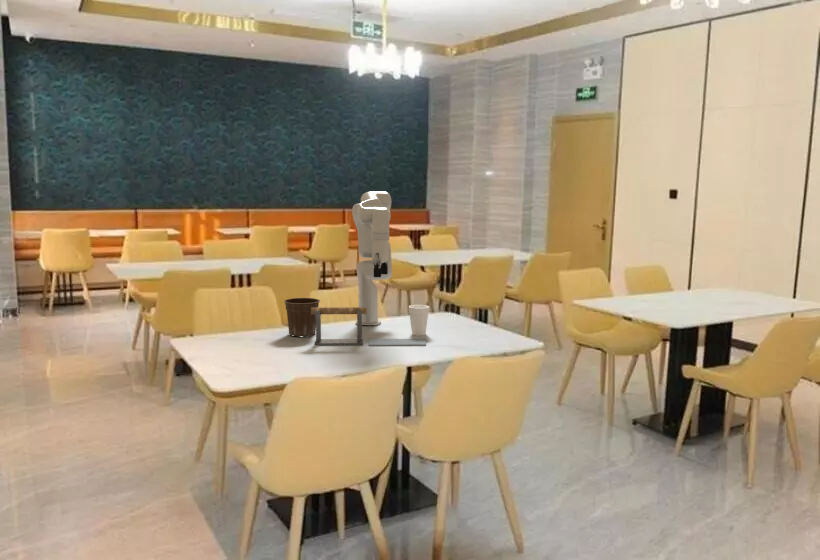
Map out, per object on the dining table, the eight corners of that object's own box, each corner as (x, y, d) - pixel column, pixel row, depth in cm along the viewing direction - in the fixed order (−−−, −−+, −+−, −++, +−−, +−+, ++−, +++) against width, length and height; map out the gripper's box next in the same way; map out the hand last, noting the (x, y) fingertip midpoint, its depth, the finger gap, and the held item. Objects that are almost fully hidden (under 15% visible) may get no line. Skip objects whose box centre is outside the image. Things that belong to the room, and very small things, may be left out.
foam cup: (428, 336, 329) (428, 308, 327) (408, 336, 329) (408, 308, 327) (428, 331, 338) (428, 304, 336) (409, 331, 339) (409, 304, 337)
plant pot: (311, 329, 343) (310, 296, 340) (326, 335, 329) (325, 301, 327) (279, 333, 334) (278, 299, 332) (293, 340, 321) (292, 304, 318)
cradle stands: (316, 341, 318) (315, 308, 316) (363, 341, 319) (363, 308, 317) (314, 345, 310) (313, 311, 308) (362, 345, 311) (362, 311, 309)
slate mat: (369, 340, 320) (369, 338, 320) (424, 339, 321) (424, 338, 321) (368, 346, 310) (368, 344, 310) (426, 345, 311) (426, 344, 310)
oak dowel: (311, 315, 311) (310, 308, 310) (311, 313, 314) (311, 306, 313) (366, 314, 312) (366, 308, 311) (366, 313, 315) (366, 306, 314)
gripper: (378, 235, 321) (378, 272, 323) (366, 238, 304) (366, 278, 307) (394, 235, 319) (394, 273, 321) (383, 238, 303) (383, 278, 305)
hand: (380, 275), depth 314 cm, fingers open, 9 cm apart
